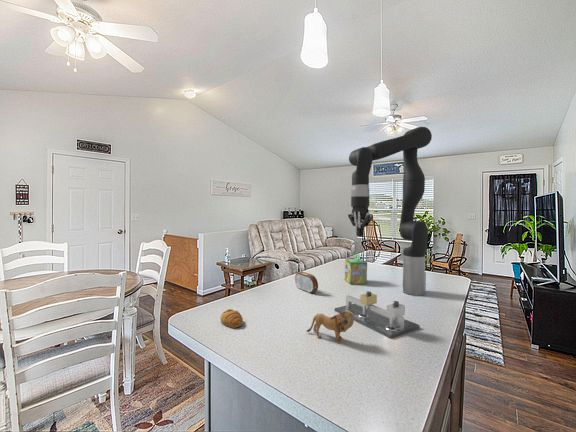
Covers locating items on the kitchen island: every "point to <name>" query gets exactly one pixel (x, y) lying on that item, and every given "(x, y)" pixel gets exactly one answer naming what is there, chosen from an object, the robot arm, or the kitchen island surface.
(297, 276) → the tin
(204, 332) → the kitchen island surface
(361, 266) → the chalk box
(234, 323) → the pastry
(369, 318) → the bolt plate
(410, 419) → the kitchen island surface
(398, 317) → the divider frame
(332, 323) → the lion figurine
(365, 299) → the block
